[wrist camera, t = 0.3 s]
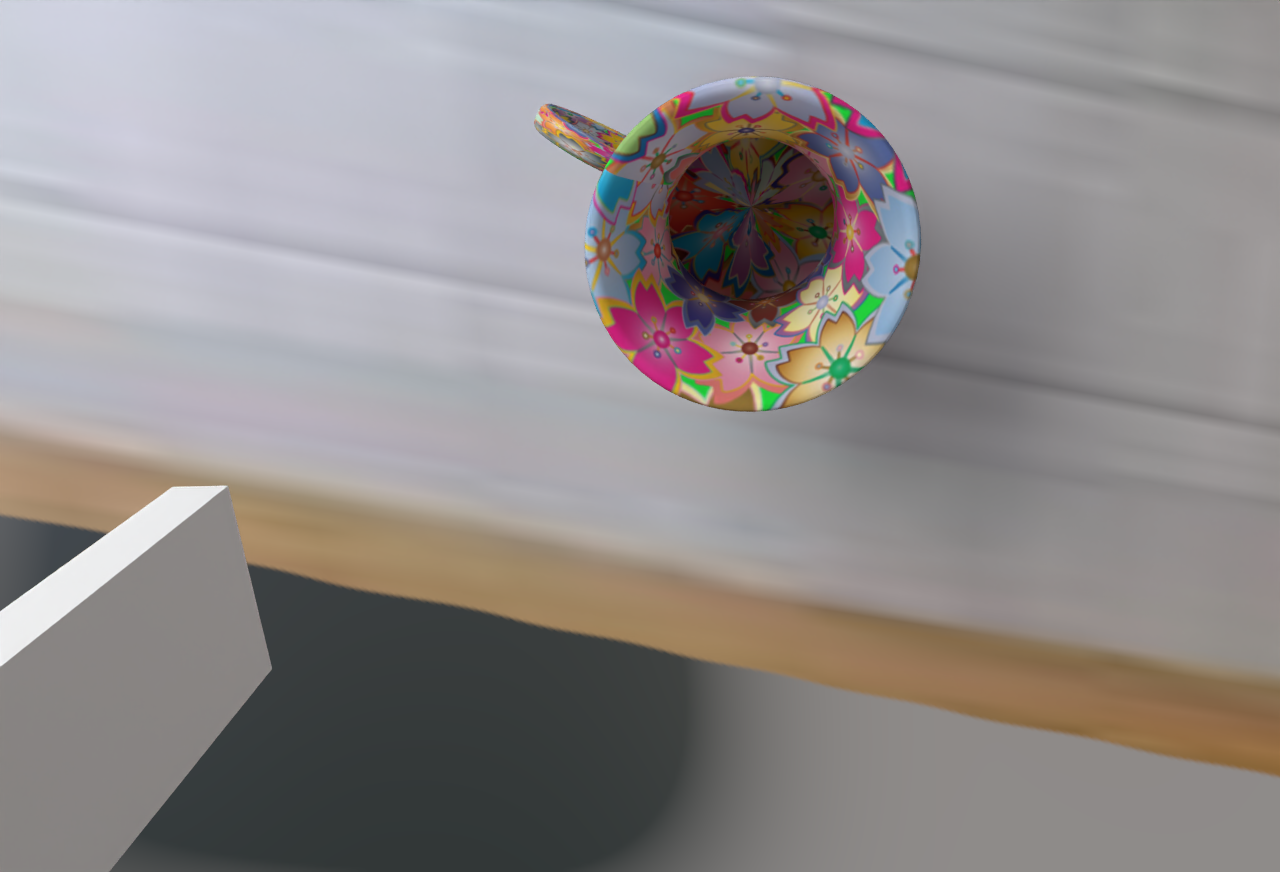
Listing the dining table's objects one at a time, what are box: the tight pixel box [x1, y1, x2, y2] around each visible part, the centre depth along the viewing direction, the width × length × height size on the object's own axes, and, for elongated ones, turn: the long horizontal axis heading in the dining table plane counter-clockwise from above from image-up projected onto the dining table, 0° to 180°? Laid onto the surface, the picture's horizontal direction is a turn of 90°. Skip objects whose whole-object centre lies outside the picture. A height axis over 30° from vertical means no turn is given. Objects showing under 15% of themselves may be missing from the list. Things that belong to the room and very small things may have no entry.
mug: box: [534, 76, 921, 412], centre depth 32 cm, size 12×9×11 cm
